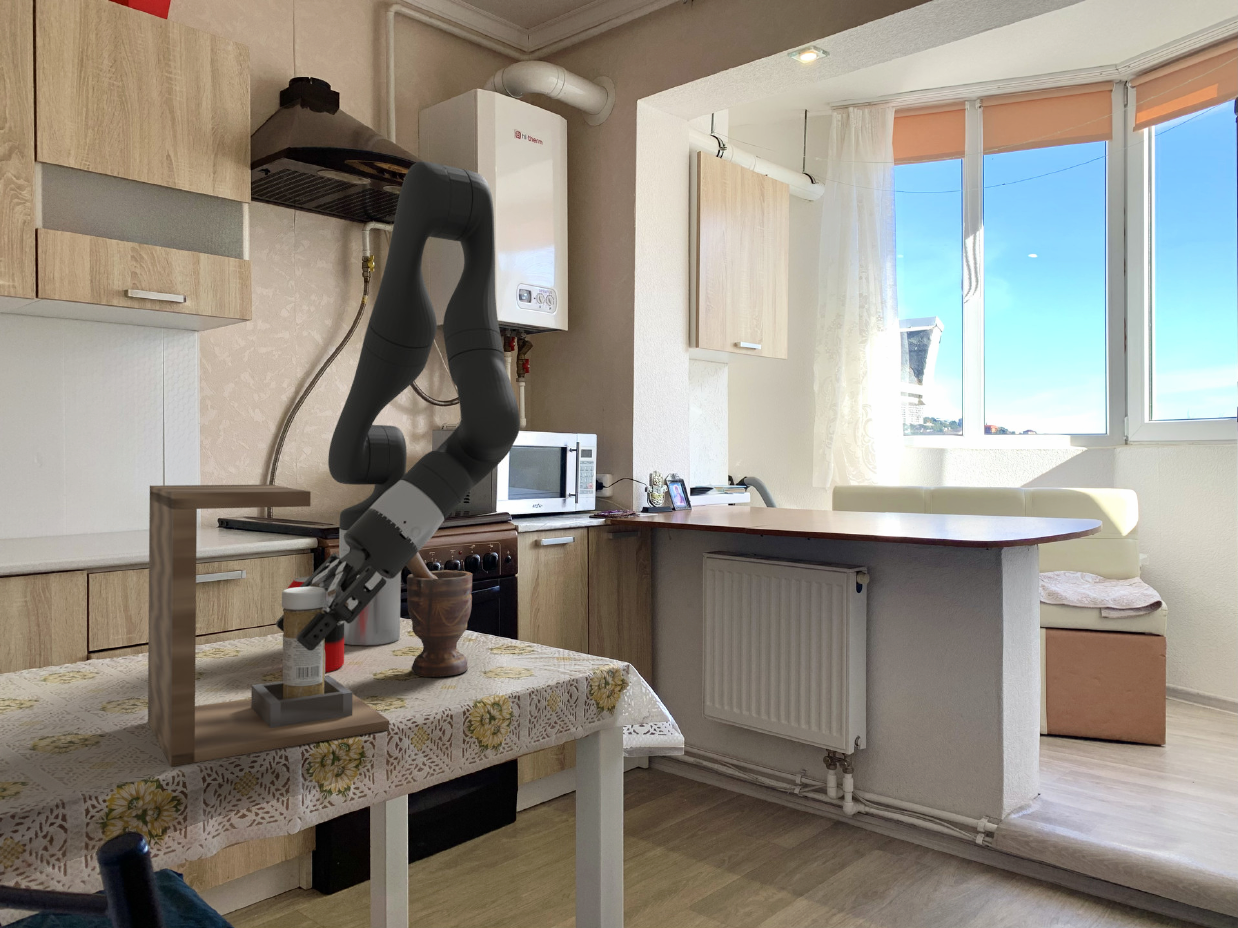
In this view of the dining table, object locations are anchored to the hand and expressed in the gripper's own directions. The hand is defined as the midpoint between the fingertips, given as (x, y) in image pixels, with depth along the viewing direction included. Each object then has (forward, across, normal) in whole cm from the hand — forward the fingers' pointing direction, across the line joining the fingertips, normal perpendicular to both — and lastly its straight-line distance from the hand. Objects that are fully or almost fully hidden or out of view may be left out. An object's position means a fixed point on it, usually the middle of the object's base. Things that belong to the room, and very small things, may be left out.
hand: (291, 637), depth 98 cm
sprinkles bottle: (+5, 0, +7) cm, 9 cm away
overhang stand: (+8, 0, +5) cm, 10 cm away
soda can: (0, -23, +13) cm, 26 cm away
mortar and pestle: (-8, -12, +22) cm, 26 cm away
